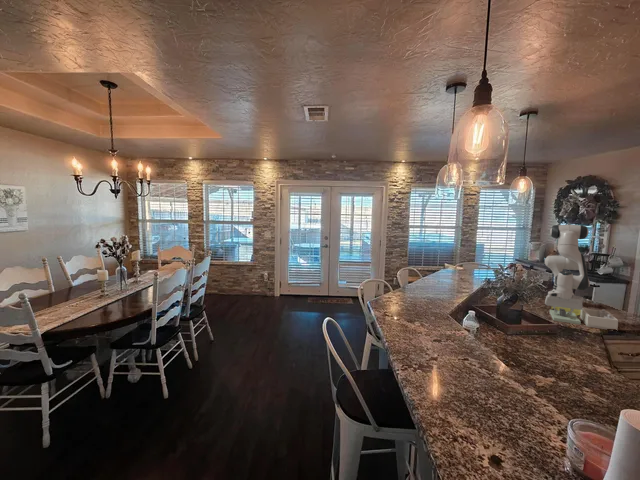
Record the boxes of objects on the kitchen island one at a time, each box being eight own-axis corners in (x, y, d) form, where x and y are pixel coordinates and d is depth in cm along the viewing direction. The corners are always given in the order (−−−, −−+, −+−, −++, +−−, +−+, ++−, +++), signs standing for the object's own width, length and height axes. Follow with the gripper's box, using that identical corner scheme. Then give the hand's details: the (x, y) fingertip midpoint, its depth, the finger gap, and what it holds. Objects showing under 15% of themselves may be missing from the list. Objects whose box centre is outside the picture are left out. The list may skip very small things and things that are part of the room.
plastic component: (581, 309, 213) (582, 306, 206) (579, 318, 212) (580, 316, 205) (548, 301, 226) (547, 299, 219) (546, 310, 225) (545, 308, 218)
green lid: (549, 312, 214) (549, 304, 213) (574, 315, 206) (574, 308, 206) (553, 320, 197) (554, 312, 196) (580, 324, 190) (581, 316, 189)
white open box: (580, 317, 203) (581, 305, 202) (607, 321, 196) (608, 308, 195) (587, 326, 186) (588, 313, 185) (617, 331, 179) (618, 317, 178)
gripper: (582, 295, 198) (581, 314, 199) (545, 291, 209) (544, 309, 210) (584, 297, 192) (583, 317, 194) (546, 293, 203) (545, 312, 205)
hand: (562, 313), depth 202 cm, fingers open, 6 cm apart
